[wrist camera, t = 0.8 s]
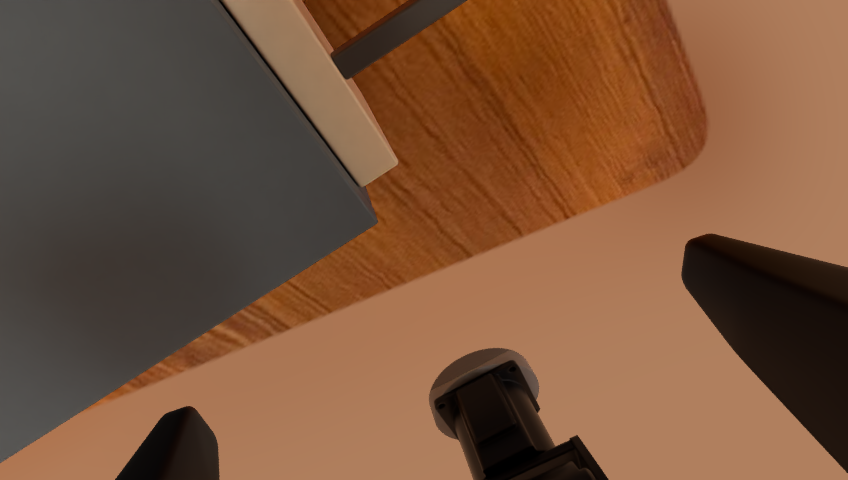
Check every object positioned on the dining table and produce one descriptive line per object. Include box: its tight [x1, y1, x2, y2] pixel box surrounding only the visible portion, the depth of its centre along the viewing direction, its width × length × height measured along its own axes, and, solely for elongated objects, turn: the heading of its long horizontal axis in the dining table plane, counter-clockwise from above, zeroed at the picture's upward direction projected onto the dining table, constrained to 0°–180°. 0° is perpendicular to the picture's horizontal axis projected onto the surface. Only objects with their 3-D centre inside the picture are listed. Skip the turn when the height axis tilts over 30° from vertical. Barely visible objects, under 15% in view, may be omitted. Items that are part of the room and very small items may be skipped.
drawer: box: [220, 0, 467, 187], centre depth 12 cm, size 19×11×7 cm, turn 119°
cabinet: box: [0, 0, 378, 463], centre depth 12 cm, size 14×13×9 cm
